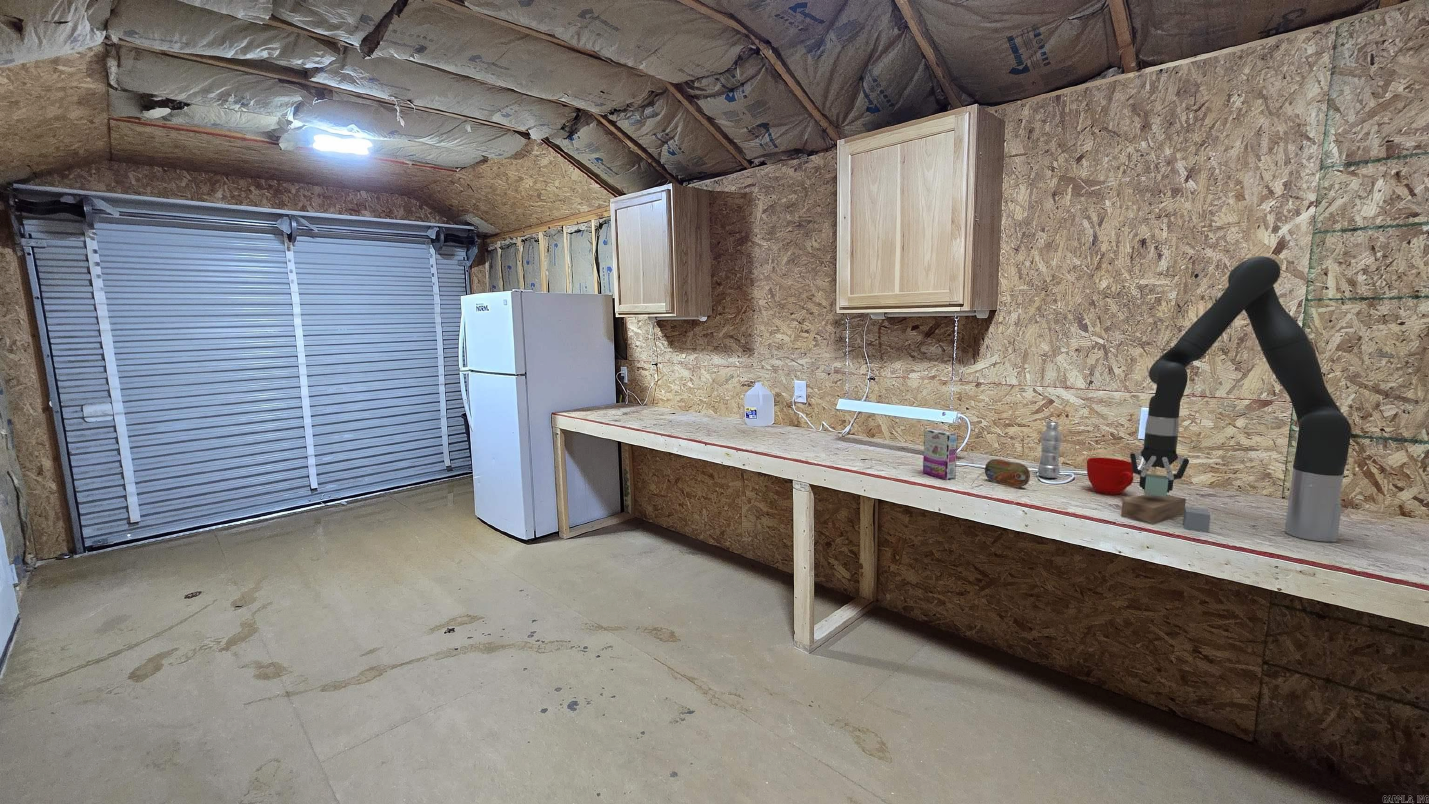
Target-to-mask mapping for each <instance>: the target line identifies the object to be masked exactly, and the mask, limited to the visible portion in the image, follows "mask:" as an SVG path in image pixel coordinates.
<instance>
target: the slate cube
mask: <svg viewBox="0 0 1429 804" xmlns="http://www.w3.org/2000/svg"><path fill="white" fill-rule="evenodd" d="M1182 519H1183V520H1182V526H1183V528H1184V530H1188V531H1193V532H1200V533H1201V532H1202V533H1209V531H1210V530H1209V529H1210V523H1211V522H1210V521H1211V513H1210V510H1209V509H1204V508H1197V507H1196V508H1195V507H1192V506H1185V508H1184V514H1183V518H1182Z"/></svg>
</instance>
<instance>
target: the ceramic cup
mask: <svg viewBox="0 0 1429 804" xmlns="http://www.w3.org/2000/svg"><path fill="white" fill-rule="evenodd" d="M1086 473H1087V478H1088V481H1089V483H1090V485H1091V486H1092V487H1093V489H1094V490H1095V491H1096V492H1097V493H1100V494H1104V495H1110V496H1111V495H1112V496H1113V495H1114V496H1115V495H1120V494H1121V493H1123V492H1124V491H1125V490H1126V489H1127V488H1128V487H1130V486H1131V485H1132V484H1133V482H1134V473H1133V468H1132V463H1131V461H1128V460H1124V459H1118V458H1111V457H1091V458H1087V459H1086Z"/></svg>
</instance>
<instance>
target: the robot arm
mask: <svg viewBox="0 0 1429 804" xmlns="http://www.w3.org/2000/svg"><path fill="white" fill-rule="evenodd" d="M1281 271H1282V270H1281V266H1280V264H1279V263H1278V262H1277V261H1276V260H1275V259H1274V258H1272V257H1269V256H1265V255H1264V256H1263V255H1262V256H1259V255H1258V256H1254V257H1251V258H1250V257H1249V258H1248V259H1245V260H1243V261H1241V262H1240V263H1238V264H1237V265H1235V266H1234V267H1233V268H1232V269H1231V270H1230V272H1229V274H1228V277H1227V284H1228V286H1227V287H1226V289H1225V290H1224V291H1223V293H1221V295H1220V296H1219V297H1218V299H1217V300H1216V301H1215V302H1214V303H1213V304H1212V305H1210V307H1209V308H1207V310H1206V311H1205V312H1204V313H1203V314H1201V316H1199V318H1197V319H1196V321H1194V322H1193V323H1192V324H1191V326H1190V327H1188V329H1186V331H1185V332H1184V333H1183V334H1182V336H1181V337H1180V338H1179V339H1178V340H1177V341H1176V343H1175V344H1174V345H1173V346H1172V347H1171V348H1169V349H1168V350H1167V351H1166V352H1164V353H1163V354H1162V355H1161V356H1160V357H1159V358H1157V359H1156V360H1155V362H1153V364H1152V365H1151V367H1150V369H1149V372H1148V377H1149V379H1150V381H1151V382H1152V383H1153V384H1155V385H1156V388H1155V393H1154V395H1152V396H1151V397H1150V399H1149V402H1148V411H1147V412H1148V413H1147V418H1146V422H1145V428H1144V437H1143V438H1144V439H1143V448H1142V450H1141V451H1138V452H1134V451H1131V452H1130V453H1129V458H1130V462H1131V463H1132V468H1133V474H1136V475H1138V476H1139V483H1138V484H1139V487H1140V488H1141V490H1143V491H1144V490H1145V483H1146V474H1148V472H1149V471H1150V469H1151V468H1159V469H1165V472H1166V476H1167V477H1168V488H1167V494H1169V493H1170V492H1172V491H1173V489H1174V480H1181V479H1182V478H1183V477H1184V474H1185V472H1186V470H1187V468H1188V465H1189V463H1190V460H1189V457H1187V456H1186V457H1182V456H1179V455H1178V453H1177V448H1178V440H1179V433H1180V422H1179V421H1180V420H1179V419H1180V411H1181V410H1180V409H1181V402H1182V399H1183V397H1184V394H1185V391H1186V387H1187V385H1188V379H1189V377H1188V376H1189V375H1188V374H1189V373H1188V371H1187V367H1188V366H1189V365H1190V364H1191V363H1193V362H1196V361H1199V360H1201V359H1202V358H1203V357H1204V356H1205V355H1206V353H1207V352H1208V351H1209V350H1210V349H1211V348H1212V346H1214V344H1215V343H1216V342H1217V341H1218V340H1219V339H1220V337H1221V336H1223V334H1224V333H1225V332H1226V330H1227V329H1228V328H1229V327H1230V326H1231V324H1232V323H1233V322H1234V321H1235V320H1236V319H1237V318H1238V316H1240V314H1241V313H1242V312H1245V314H1246V315H1247V318H1248V320H1249V323H1250V326H1251V328H1252V330H1253V333H1254V336H1255V338H1256V340H1257V342H1258V344H1259V347H1260V351H1261V352H1262V354H1263V356H1264V358H1265V360H1266V362H1267V365H1268V366H1269V368H1270V370H1271V372H1272V374H1273V375H1274V376H1275V378H1276V380H1277V381H1278V382H1279V384H1280V385H1281V386H1282V389H1284V390H1285V393H1286V394H1287V396H1288V397H1289V399H1290V402H1291V404H1292V407H1293V410H1294V412H1295V413H1294V414H1295V417H1296V420H1297V424H1298V431H1297V432H1298V433H1297V439H1296V448H1295V453H1294V459H1293V465H1292V467H1293V468H1292V475H1291V480H1290V481H1291V482H1290V488H1289V489H1290V490H1289V496H1288V503H1287V510H1286V518H1285V522H1284V532H1285V533H1286V534H1288V535H1290V536H1292V537H1293V536H1294V537H1296V538H1299V539H1304V540H1307V541H1308V540H1309V541H1316V542H1327V543H1328V542H1330V543H1331V542H1333V543H1338V542H1337V541H1338V536H1339V531H1340V522H1341V515H1342V510H1343V506H1342V504H1341V494H1342V487H1343V481H1344V475H1345V469H1346V465H1347V463H1348V461H1347V460H1348V455H1349V451H1350V450H1349V449H1350V444H1351V437H1352V425H1351V423H1350V421H1349V419H1348V418H1347V417H1346V416H1345V415H1344V413H1343V412H1342V411H1341V410H1340V407H1339V406H1338V405H1337V403H1336V402H1335V401H1334V399H1333V396H1331V393H1330V391H1328V388H1327V386H1326V383H1325V381H1324V377H1323V372H1322V369H1321V366H1320V362H1319V359H1318V357H1317V354H1316V351H1315V348H1314V347H1313V345H1312V343H1311V341H1310V339H1309V337H1308V335H1307V333H1306V331H1304V328H1302V326H1301V325H1300V324H1299V323H1298V322H1297V320H1295V318H1293V316H1291V314H1289V313H1288V311H1287V310H1286V308H1284V306H1283V304H1282V303H1281V301H1280V299H1279V296H1278V294H1277V291H1276V289H1275V286H1274V285H1275V284H1276V283H1277V282H1278V281H1279V279H1280V277H1281V273H1282V272H1281ZM1140 457H1142V459H1143V460H1144V462H1145V464H1144V465H1143V467H1142V469H1141V470H1140V469H1139V468H1138V463H1137V461H1139V460H1140ZM1176 461H1178V462H1177V463H1178V465H1179V467H1178V470H1177V472H1176V473H1173V470H1172V469H1171V465H1172V464H1174V462H1176Z"/></svg>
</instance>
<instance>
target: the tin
mask: <svg viewBox="0 0 1429 804" xmlns="http://www.w3.org/2000/svg"><path fill="white" fill-rule="evenodd" d="M984 473H985V476H986V478H987V479H988V481H989V482H991V483H994V484H997V485H1002V486H1006V487H1009V488H1015V489H1017V488H1018V489H1019V488H1023V487H1025V486H1027V485H1028V484H1029V481H1030V478H1031V472H1030V470H1029V468H1028V467H1027V466H1026V465H1025V464H1023V463H1021V462H1018V461H1017V462H1016V461H1010V460H1007V459H1001V458H993V459H992V458H991V459H990V460H988V461H987V462H986V464H985V466H984Z"/></svg>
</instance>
